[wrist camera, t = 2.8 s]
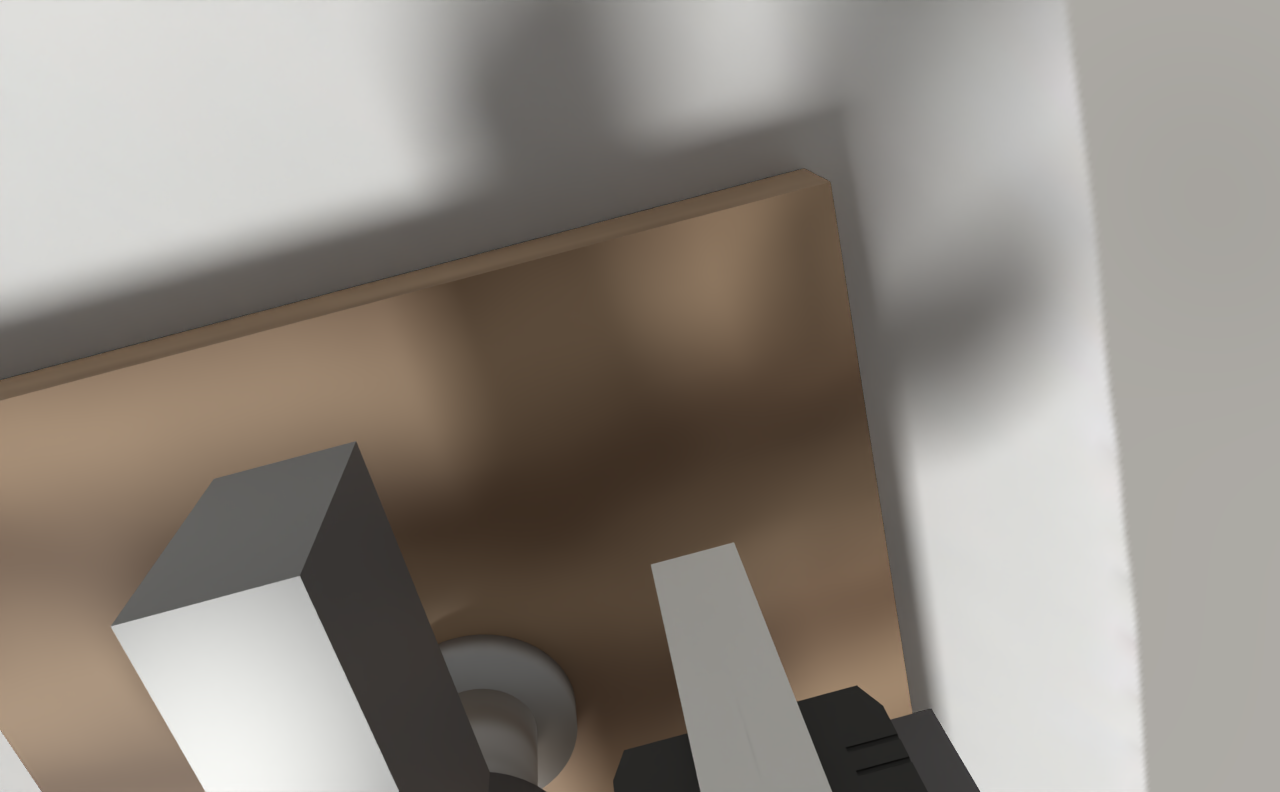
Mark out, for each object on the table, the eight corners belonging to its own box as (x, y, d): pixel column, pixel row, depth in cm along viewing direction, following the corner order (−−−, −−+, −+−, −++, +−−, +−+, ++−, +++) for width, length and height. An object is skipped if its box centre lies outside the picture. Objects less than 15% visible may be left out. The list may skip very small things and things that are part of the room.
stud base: (-125, 412, 21) (-360, 551, 15) (804, 168, 21) (901, 218, 16) (256, 1018, 29) (192, 1247, 24) (914, 837, 30) (1002, 1023, 24)
